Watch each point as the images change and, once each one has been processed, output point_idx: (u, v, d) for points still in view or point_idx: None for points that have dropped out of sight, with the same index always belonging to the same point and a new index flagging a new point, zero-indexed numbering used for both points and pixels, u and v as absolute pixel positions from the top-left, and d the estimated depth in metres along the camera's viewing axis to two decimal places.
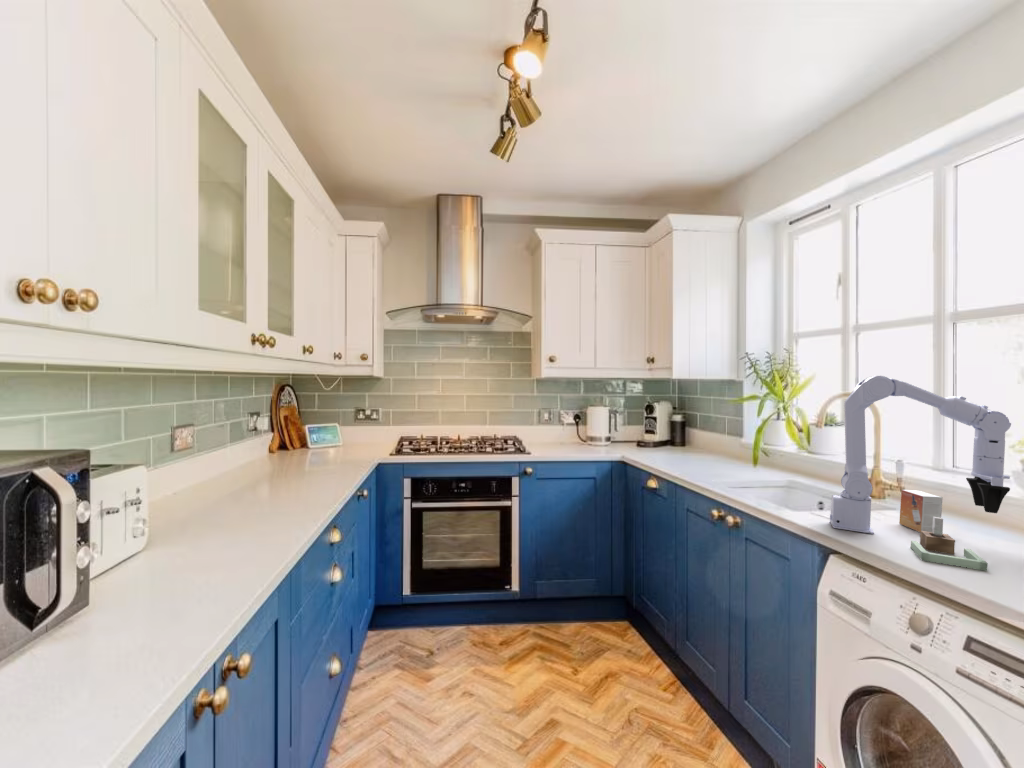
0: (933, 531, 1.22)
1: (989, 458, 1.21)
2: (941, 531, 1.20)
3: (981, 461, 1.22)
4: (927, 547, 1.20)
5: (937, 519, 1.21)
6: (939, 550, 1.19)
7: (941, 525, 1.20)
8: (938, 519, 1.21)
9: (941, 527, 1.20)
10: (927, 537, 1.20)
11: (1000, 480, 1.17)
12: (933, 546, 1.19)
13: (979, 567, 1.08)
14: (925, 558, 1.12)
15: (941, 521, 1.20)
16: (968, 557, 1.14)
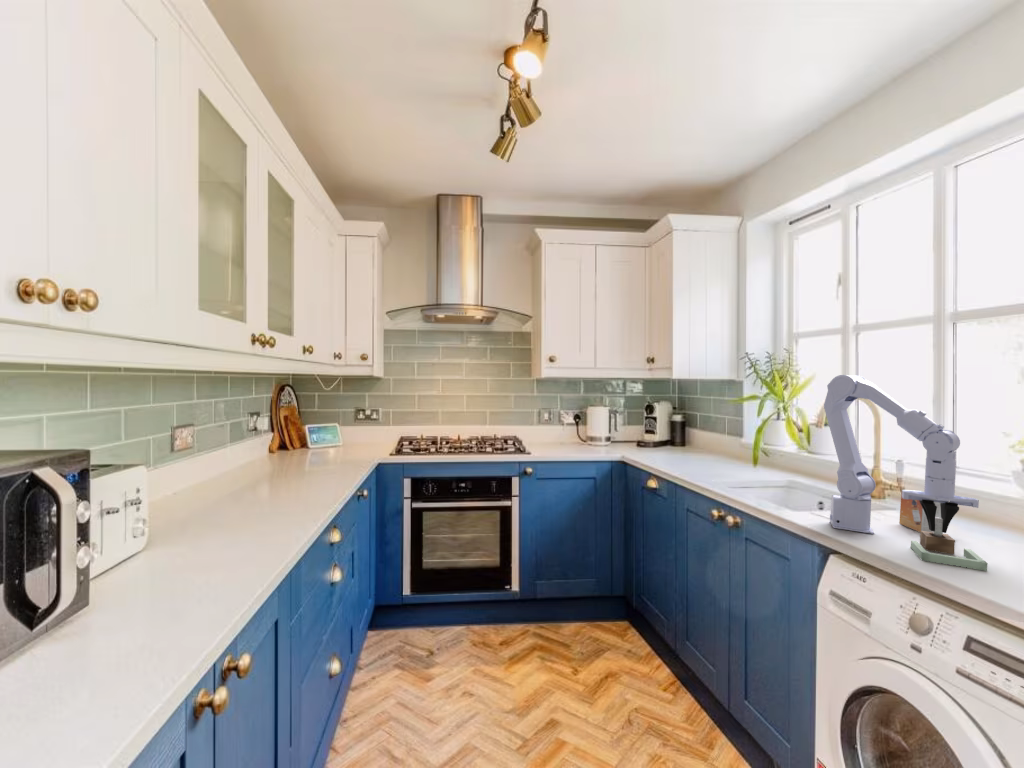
0: (933, 531, 1.22)
1: (925, 476, 1.23)
2: (941, 531, 1.20)
3: None
4: (927, 547, 1.20)
5: (937, 519, 1.21)
6: (939, 550, 1.19)
7: (941, 525, 1.20)
8: (938, 519, 1.21)
9: (941, 527, 1.20)
10: (927, 537, 1.20)
11: (903, 492, 1.24)
12: (933, 546, 1.19)
13: (979, 567, 1.08)
14: (925, 558, 1.12)
15: (941, 521, 1.20)
16: (968, 557, 1.14)
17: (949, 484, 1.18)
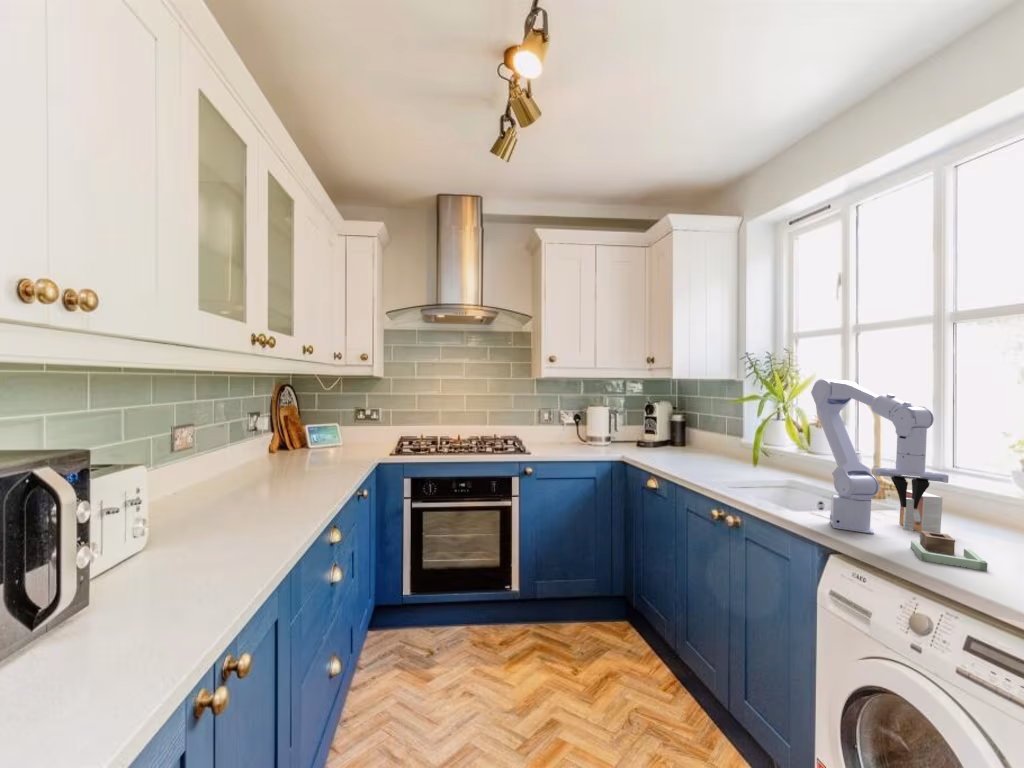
0: (904, 512, 1.22)
1: None
2: (912, 512, 1.20)
3: None
4: (927, 547, 1.20)
5: (908, 500, 1.21)
6: (939, 550, 1.19)
7: (912, 506, 1.20)
8: (909, 500, 1.21)
9: (912, 508, 1.20)
10: (927, 537, 1.20)
11: (875, 469, 1.24)
12: (933, 546, 1.19)
13: (979, 567, 1.08)
14: (925, 558, 1.12)
15: (912, 502, 1.20)
16: (968, 557, 1.14)
17: (920, 460, 1.19)
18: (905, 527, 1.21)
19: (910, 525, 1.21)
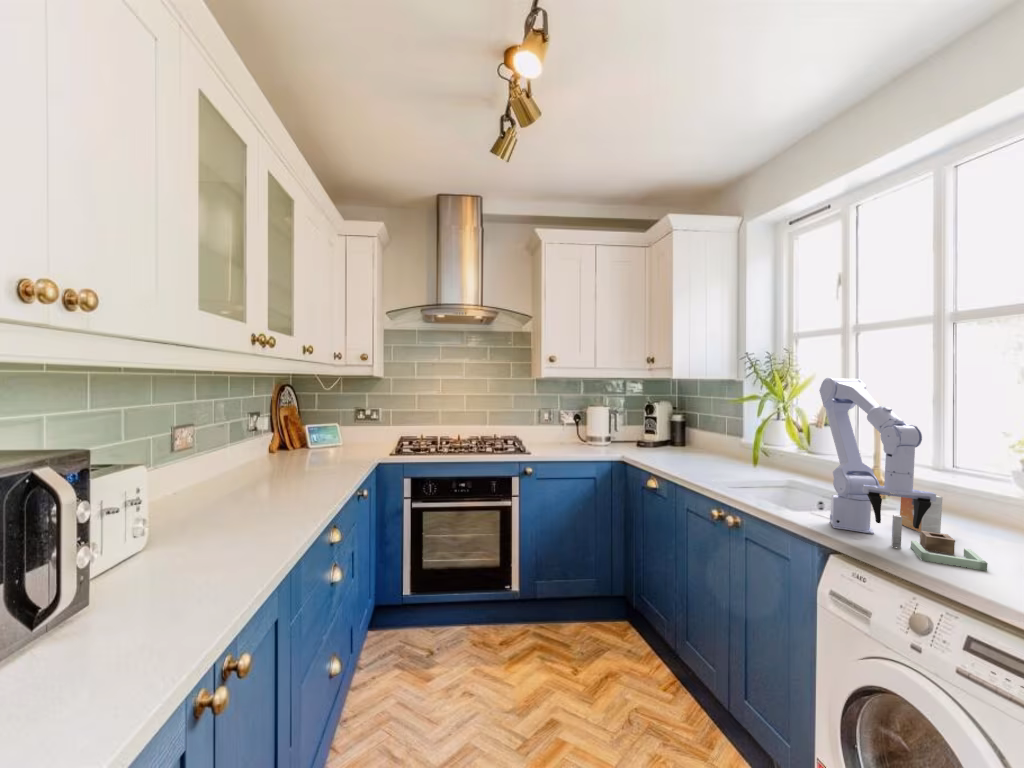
0: (893, 529, 1.22)
1: None
2: (900, 529, 1.21)
3: None
4: (927, 547, 1.20)
5: (896, 517, 1.21)
6: (939, 550, 1.19)
7: (900, 523, 1.21)
8: (897, 517, 1.21)
9: (900, 525, 1.21)
10: (927, 537, 1.20)
11: (863, 487, 1.25)
12: (933, 546, 1.19)
13: (979, 567, 1.08)
14: (925, 558, 1.12)
15: (900, 519, 1.21)
16: (968, 557, 1.14)
17: (907, 478, 1.19)
18: (893, 544, 1.22)
19: (898, 543, 1.21)
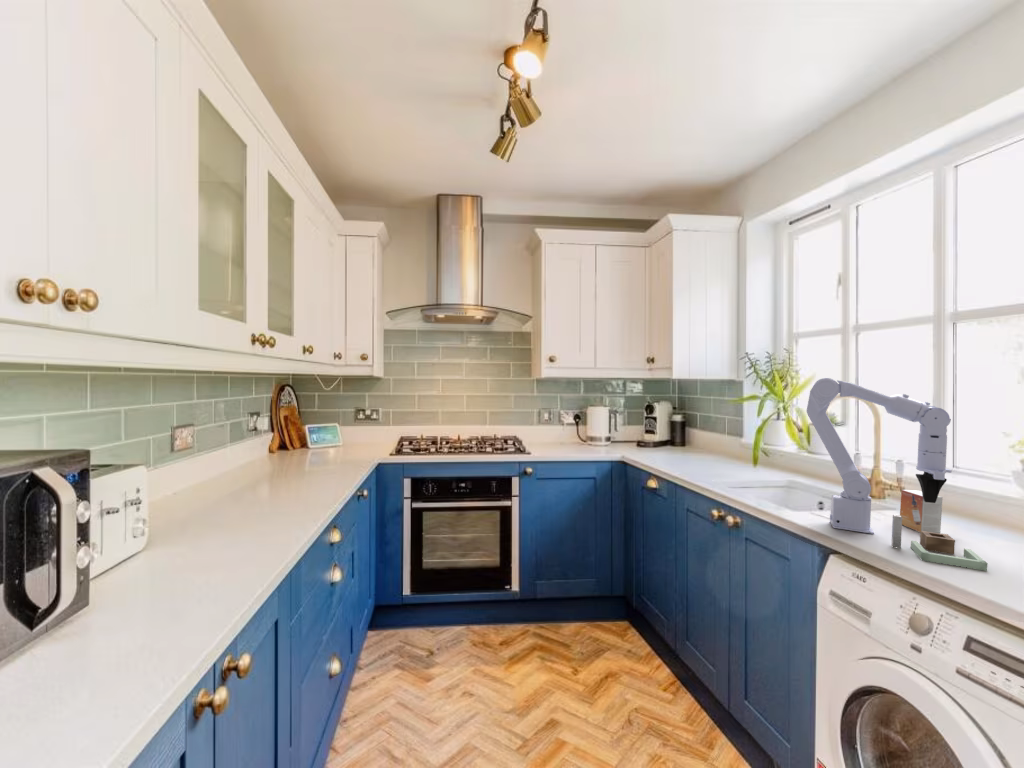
0: (893, 529, 1.22)
1: (932, 453, 1.25)
2: (900, 529, 1.21)
3: (925, 456, 1.27)
4: (927, 547, 1.20)
5: (896, 517, 1.21)
6: (939, 550, 1.19)
7: (900, 523, 1.21)
8: (897, 517, 1.21)
9: (900, 525, 1.21)
10: (927, 537, 1.20)
11: (942, 474, 1.21)
12: (933, 546, 1.19)
13: (979, 567, 1.08)
14: (925, 558, 1.12)
15: (900, 519, 1.21)
16: (968, 557, 1.14)
17: None
18: (893, 544, 1.22)
19: (898, 543, 1.21)
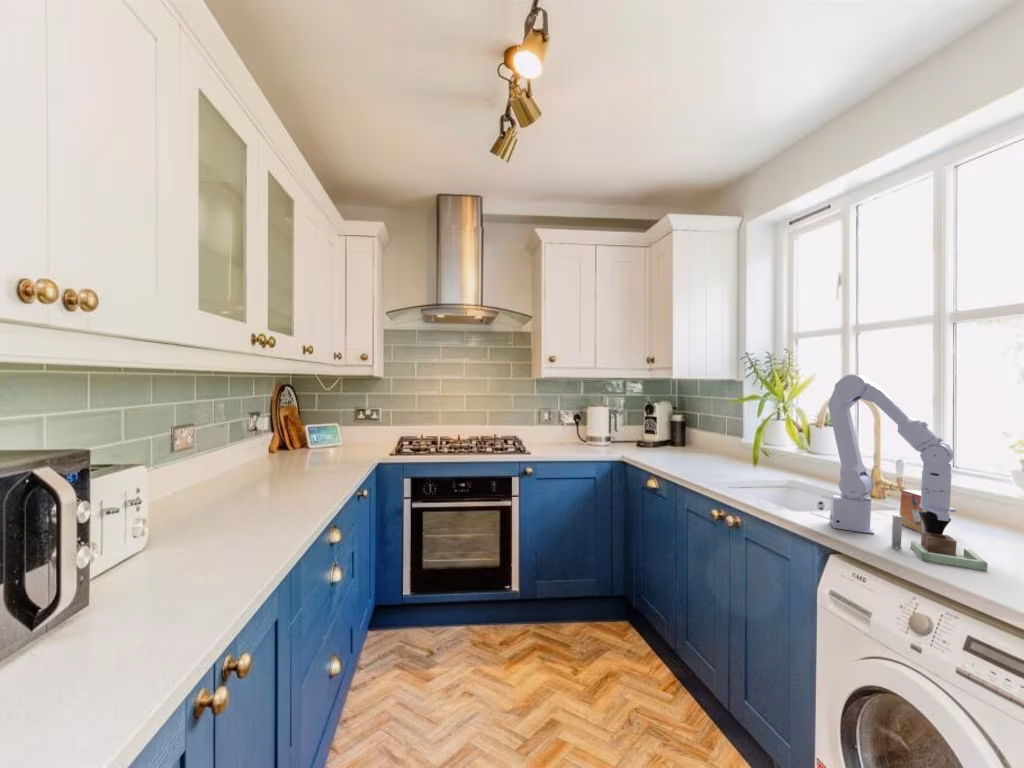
0: (893, 529, 1.22)
1: (936, 491, 1.21)
2: (900, 529, 1.21)
3: (929, 494, 1.23)
4: (928, 548, 1.19)
5: (896, 517, 1.21)
6: (940, 551, 1.18)
7: (900, 523, 1.21)
8: (897, 517, 1.21)
9: (900, 525, 1.21)
10: (928, 538, 1.19)
11: (946, 515, 1.17)
12: (935, 547, 1.19)
13: (979, 567, 1.08)
14: (925, 558, 1.12)
15: (900, 519, 1.21)
16: (968, 557, 1.14)
17: None
18: (893, 544, 1.22)
19: (898, 543, 1.21)
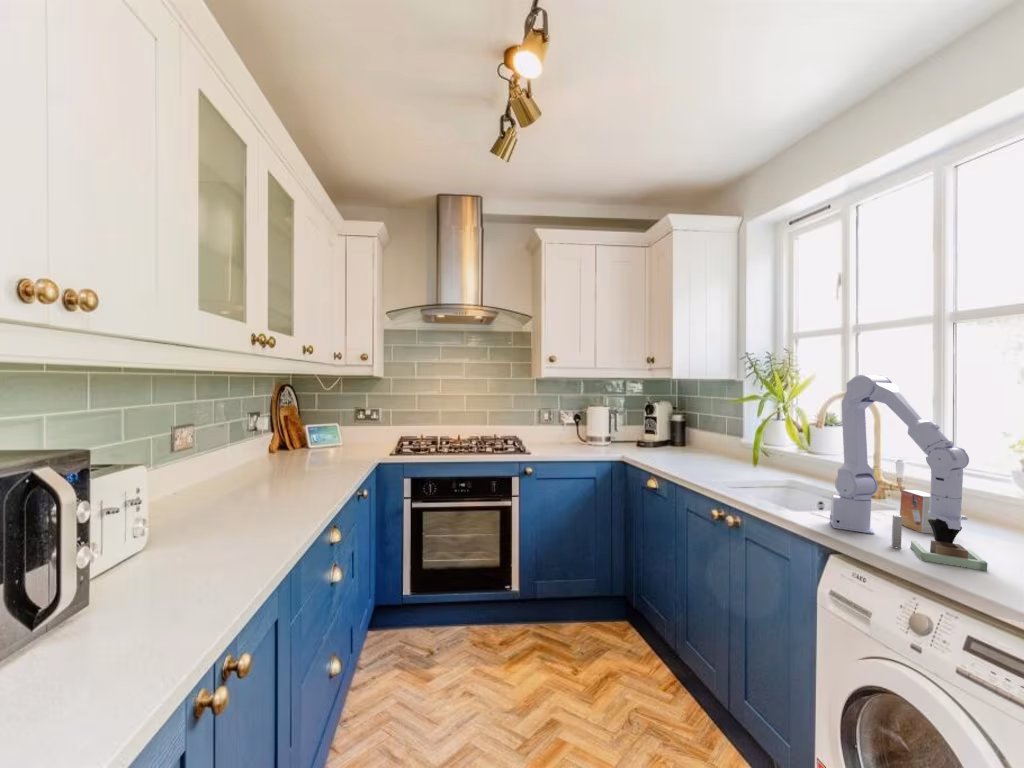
0: (893, 529, 1.22)
1: (946, 498, 1.14)
2: (900, 529, 1.21)
3: (938, 501, 1.16)
4: None
5: (896, 517, 1.21)
6: None
7: (900, 523, 1.21)
8: (897, 517, 1.21)
9: (900, 525, 1.21)
10: (938, 548, 1.12)
11: (957, 523, 1.10)
12: None
13: (979, 567, 1.08)
14: (925, 558, 1.12)
15: (900, 519, 1.21)
16: (968, 557, 1.14)
17: None
18: (893, 544, 1.22)
19: (898, 543, 1.21)
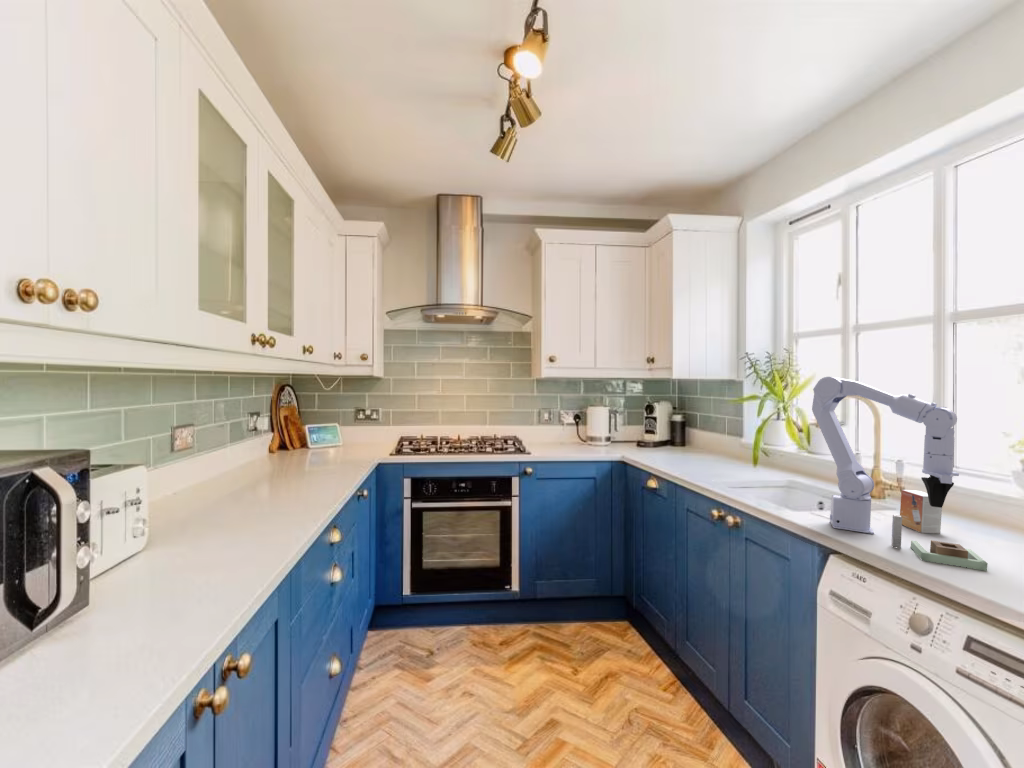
0: (893, 529, 1.22)
1: (939, 455, 1.20)
2: (900, 529, 1.21)
3: (931, 458, 1.22)
4: None
5: (896, 517, 1.21)
6: None
7: (900, 523, 1.21)
8: (897, 517, 1.21)
9: (900, 525, 1.21)
10: (938, 547, 1.12)
11: (949, 477, 1.16)
12: None
13: (979, 567, 1.08)
14: (925, 558, 1.12)
15: (900, 519, 1.21)
16: (968, 557, 1.14)
17: None
18: (893, 544, 1.22)
19: (898, 543, 1.21)
